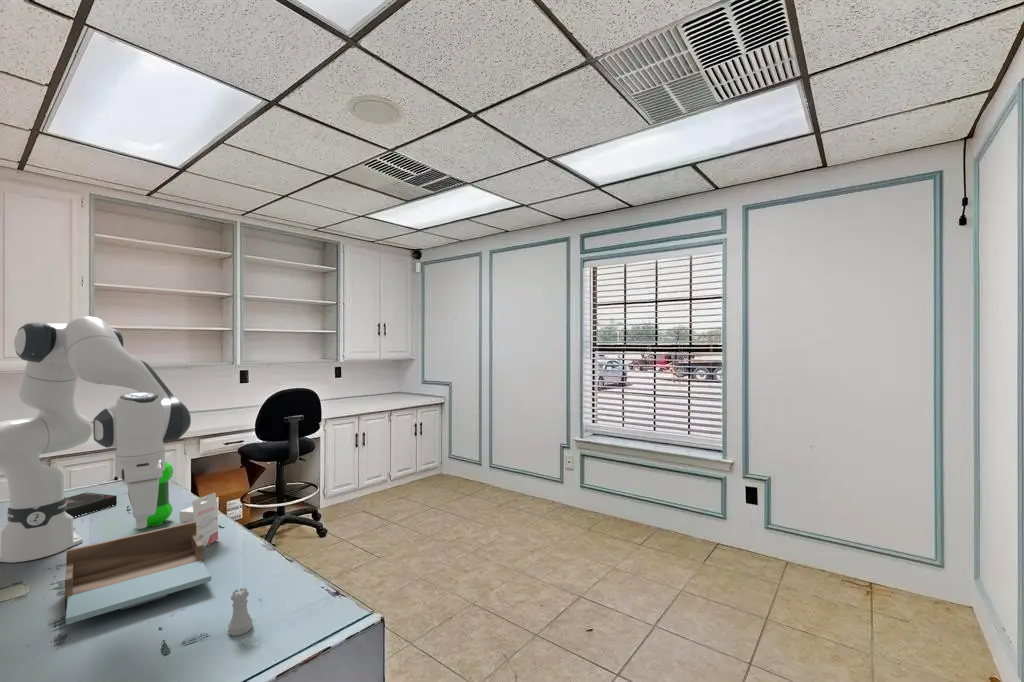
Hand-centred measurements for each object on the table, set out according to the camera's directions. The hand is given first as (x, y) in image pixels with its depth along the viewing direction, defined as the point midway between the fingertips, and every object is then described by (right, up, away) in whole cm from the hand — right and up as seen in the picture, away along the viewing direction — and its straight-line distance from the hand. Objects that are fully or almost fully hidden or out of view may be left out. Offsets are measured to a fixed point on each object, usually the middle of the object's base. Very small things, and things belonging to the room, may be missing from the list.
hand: (141, 526), depth 106 cm
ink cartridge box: (-8, -19, +32) cm, 38 cm away
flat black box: (-75, -21, +65) cm, 101 cm away
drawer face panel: (-5, -15, +6) cm, 17 cm away
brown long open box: (-10, -18, +11) cm, 24 cm away
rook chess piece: (+28, -18, -10) cm, 34 cm away
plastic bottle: (-35, -19, +50) cm, 64 cm away
